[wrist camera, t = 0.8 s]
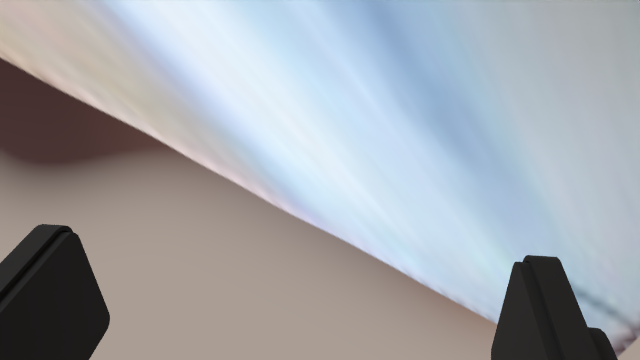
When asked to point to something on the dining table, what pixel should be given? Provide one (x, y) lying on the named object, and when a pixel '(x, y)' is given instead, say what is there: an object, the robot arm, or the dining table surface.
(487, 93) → the dining table surface
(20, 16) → the dining table surface
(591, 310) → the dining table surface
